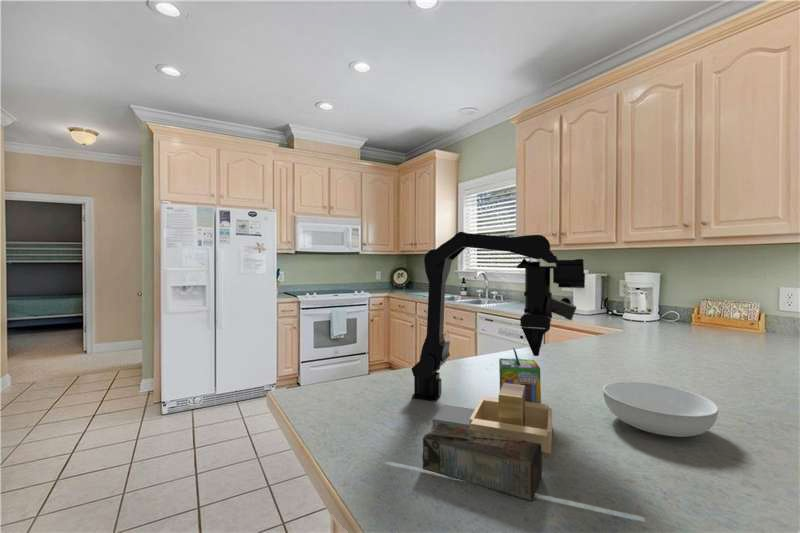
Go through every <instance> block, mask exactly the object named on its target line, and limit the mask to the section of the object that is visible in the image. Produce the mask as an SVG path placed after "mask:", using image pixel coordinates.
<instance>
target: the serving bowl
mask: <svg viewBox="0 0 800 533" xmlns="http://www.w3.org/2000/svg"><path fill="white" fill-rule="evenodd" d="M602 392H603V398H604V402H605V404H606V406H607V408H608V409H609V411H610V412H611V413H612V414H613V415H614V416H616V417H617V418H618V419H619V420H621V421H622V422H623V423H625V424H627V425H630V426H632V427H634V428H636V429H639V430H642V431H645V432H647V433H648V432H649V433H651V434H655V435H661V436H668V437H677V438H679V437H682V438H685V437H694V436H698V435H702V434H704V433H706V432H707V431H709V430H710V429H711V428H713V426H714V425H715V423H716V422H717V419H718V415H719V407H718V406H717V405H716V403H715V402H713V401H711V400H710V399H709V398H707V397H704V396H702V395H700V394H697V393H694V392H691V391H688V390H685V389H681V388H679V387H674V386H669V385H665V384H659V383H654V382H653V383H652V382H645V381H631V380H630V381H627V380H626V381H625V380H624V381H614V382H610V383H606V384H605V385H604V386H603V387H602Z"/></svg>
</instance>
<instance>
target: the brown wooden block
mask: <svg viewBox="0 0 800 533" xmlns="http://www.w3.org/2000/svg"><path fill="white" fill-rule="evenodd" d="M498 398H499V422H500V423H506V424H513V425H519V426H525V385H517V384H509V383H503V386H502V388H501V390H500V389H499V393H498Z"/></svg>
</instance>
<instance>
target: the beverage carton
mask: <svg viewBox="0 0 800 533" xmlns="http://www.w3.org/2000/svg"><path fill="white" fill-rule="evenodd" d="M542 453H543V452H541V444H540V443H534V442H530V441H525V440H519V439H514V438H510V437H505V436H500V435H494V434H490V433H484V432H479V431H475V430H471V429H466V428H461V427H456V426H452V425H448V424H444V423H439V424H438V425H437V426H434V427H433V428H432V429H431V430H430V431H428V432H427V433H426V434H425V435H424V436H423V438H422V457H421V458H422V467H423V470H425V471H428V472H430V473H431V472H433V473H435V474H438V475H441V476H444V475H445V476H444V477H447V476H448V477H447V478H450V479H454V478H455V480H458V479H459V481H461V480H462V481H461V482H465V481H466V482H465V483H468V482H469V484H472V485H476V486H479V487H483V488H487V489H490V490H495V491H497V492H502V493H505V494H508V495H512V496H516V497H519V498H522V499H525V500H528V501H531V502H532V501H533V500H534V498H535V495H536V492H537V490H538V487H539V485H540V483H541V480H542V476H543V473H542V472H543V459H542V457H543V455H542Z"/></svg>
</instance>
